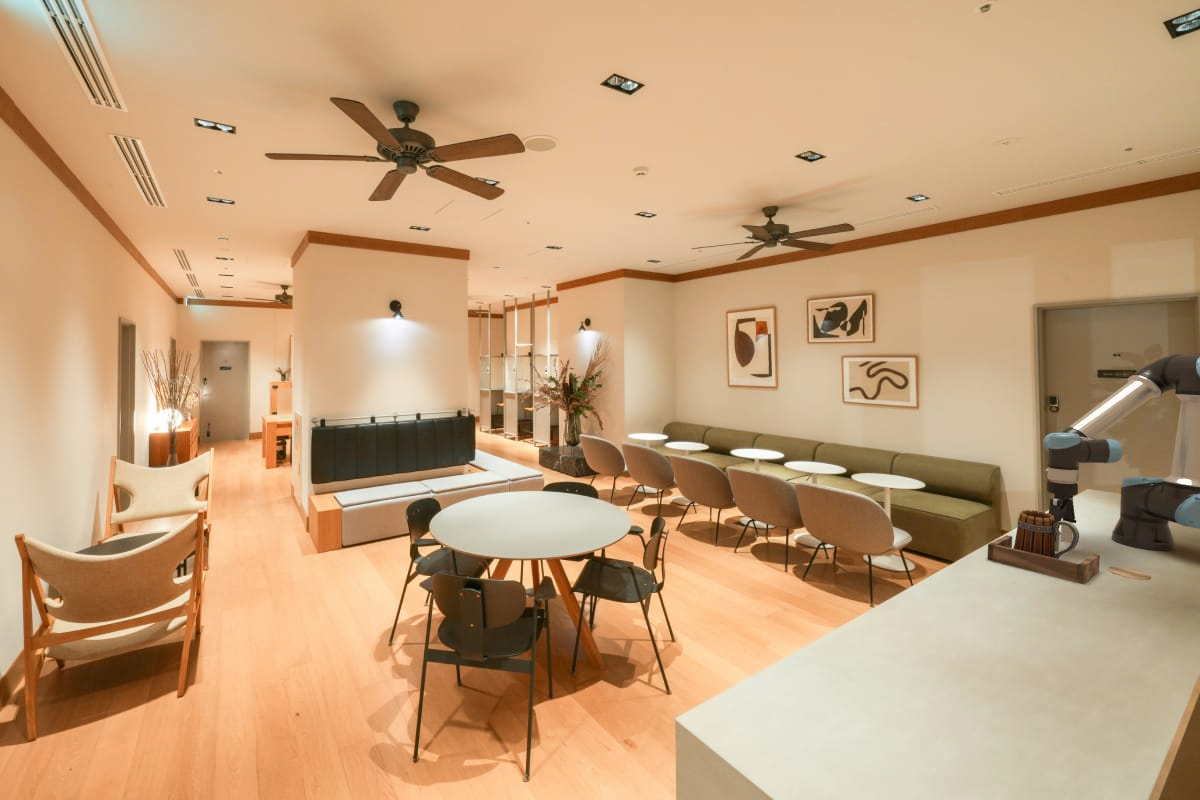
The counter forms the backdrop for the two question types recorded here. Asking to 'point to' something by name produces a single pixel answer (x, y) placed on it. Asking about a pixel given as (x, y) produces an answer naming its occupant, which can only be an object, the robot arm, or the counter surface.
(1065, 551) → the mug
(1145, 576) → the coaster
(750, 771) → the counter surface
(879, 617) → the counter surface
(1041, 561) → the bay
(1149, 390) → the robot arm
